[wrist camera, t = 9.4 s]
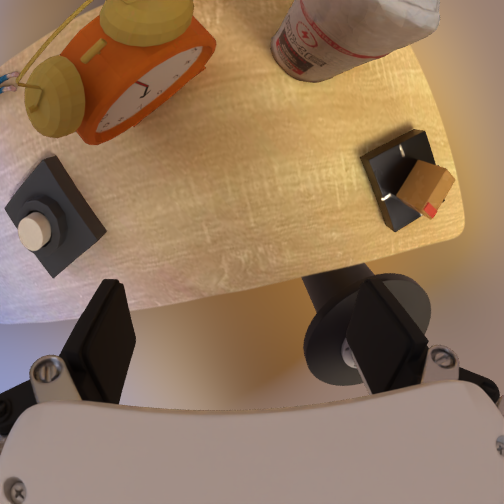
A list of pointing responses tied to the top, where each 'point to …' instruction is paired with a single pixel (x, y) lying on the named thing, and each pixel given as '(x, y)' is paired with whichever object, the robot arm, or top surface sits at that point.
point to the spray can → (348, 33)
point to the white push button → (34, 231)
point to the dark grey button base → (56, 214)
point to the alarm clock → (116, 68)
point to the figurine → (6, 77)
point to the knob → (426, 188)
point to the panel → (396, 174)
